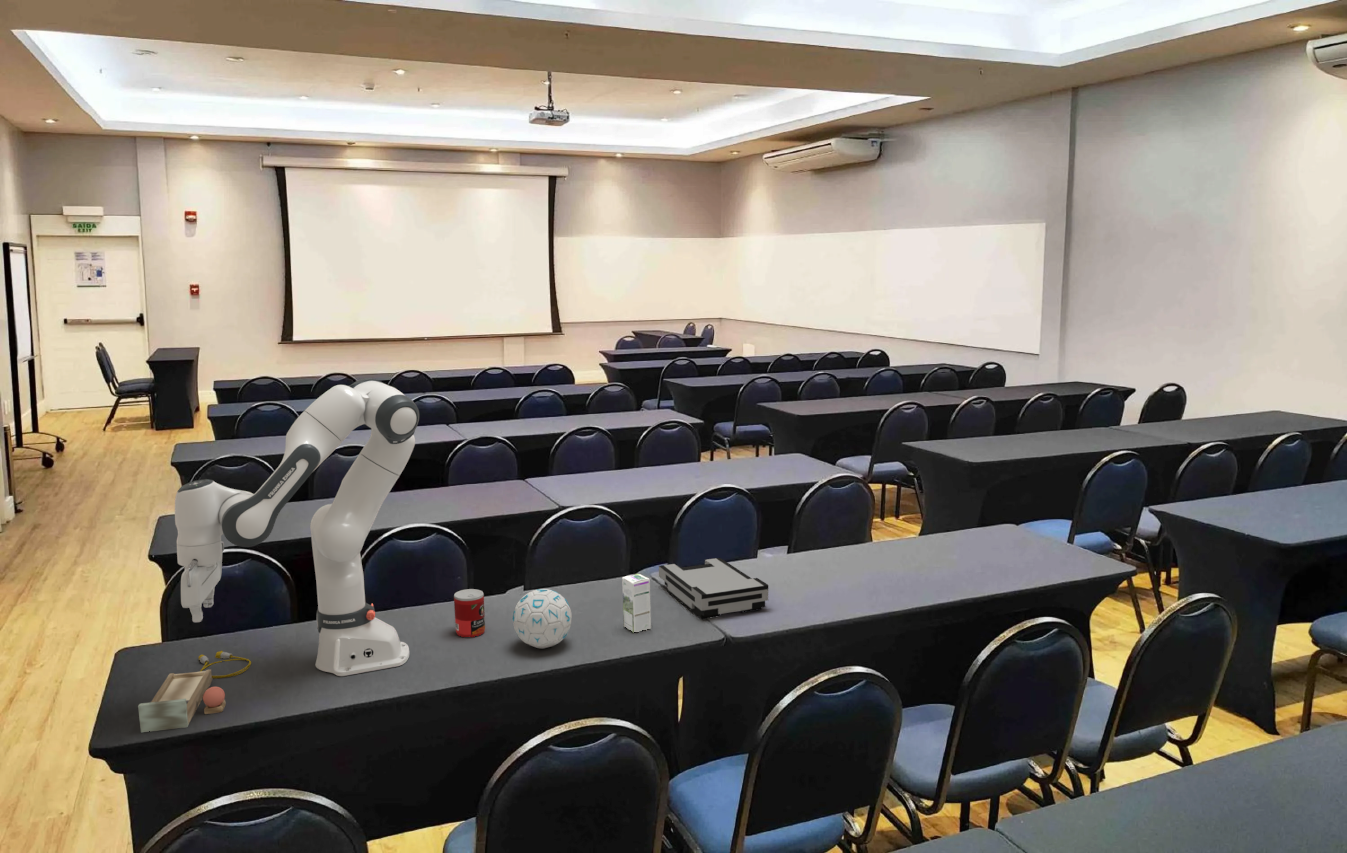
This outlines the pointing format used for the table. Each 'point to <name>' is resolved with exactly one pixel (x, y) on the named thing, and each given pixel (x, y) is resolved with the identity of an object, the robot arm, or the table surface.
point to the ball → (213, 696)
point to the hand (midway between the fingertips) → (203, 613)
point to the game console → (714, 588)
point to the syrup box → (636, 602)
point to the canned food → (469, 612)
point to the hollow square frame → (214, 708)
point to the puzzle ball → (542, 618)
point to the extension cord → (220, 655)
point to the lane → (175, 701)
